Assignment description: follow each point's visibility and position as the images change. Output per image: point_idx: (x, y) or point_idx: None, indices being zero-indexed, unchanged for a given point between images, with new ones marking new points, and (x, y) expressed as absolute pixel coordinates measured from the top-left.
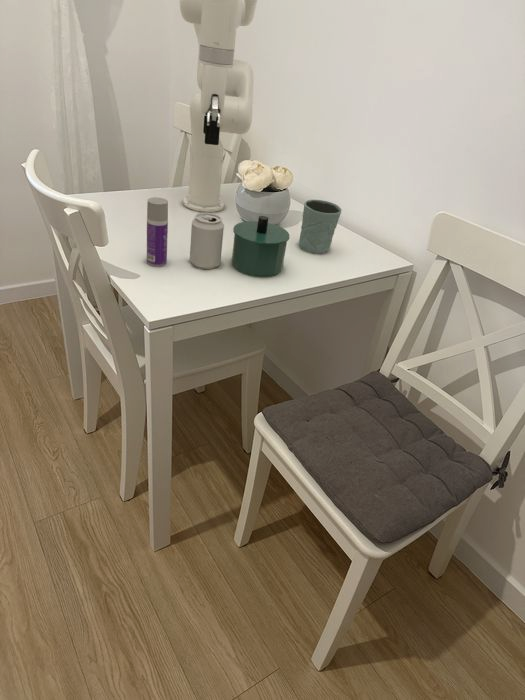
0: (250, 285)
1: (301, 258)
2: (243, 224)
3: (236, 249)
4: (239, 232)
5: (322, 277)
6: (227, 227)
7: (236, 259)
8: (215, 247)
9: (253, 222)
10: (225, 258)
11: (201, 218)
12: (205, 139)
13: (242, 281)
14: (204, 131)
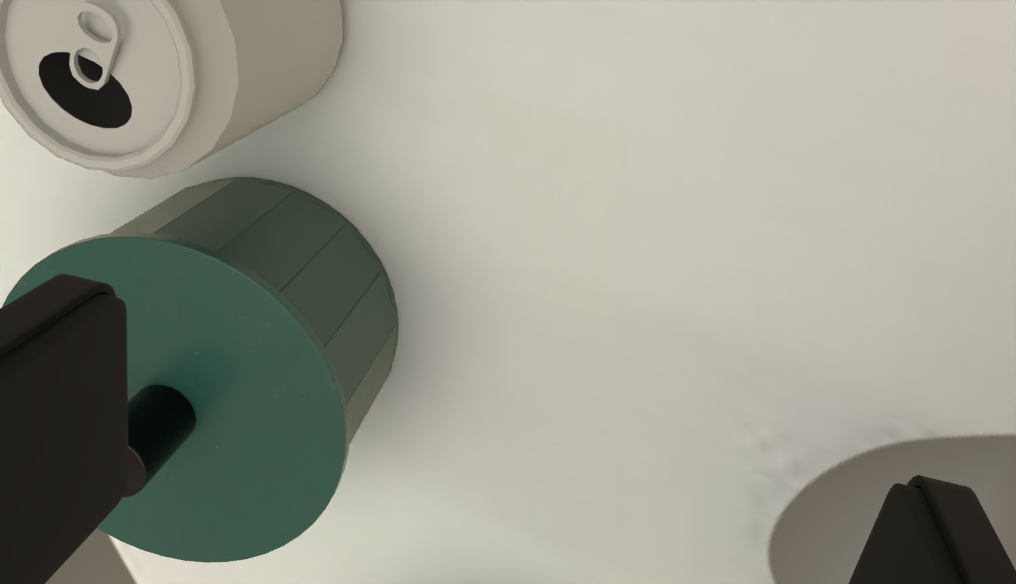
0: (40, 204)
1: (370, 559)
2: (269, 338)
3: (163, 215)
4: (121, 265)
5: (174, 560)
6: (835, 317)
7: (179, 198)
8: (99, 72)
9: (318, 417)
10: (345, 164)
11: (98, 2)
12: (18, 307)
13: (76, 176)
14: (901, 505)
